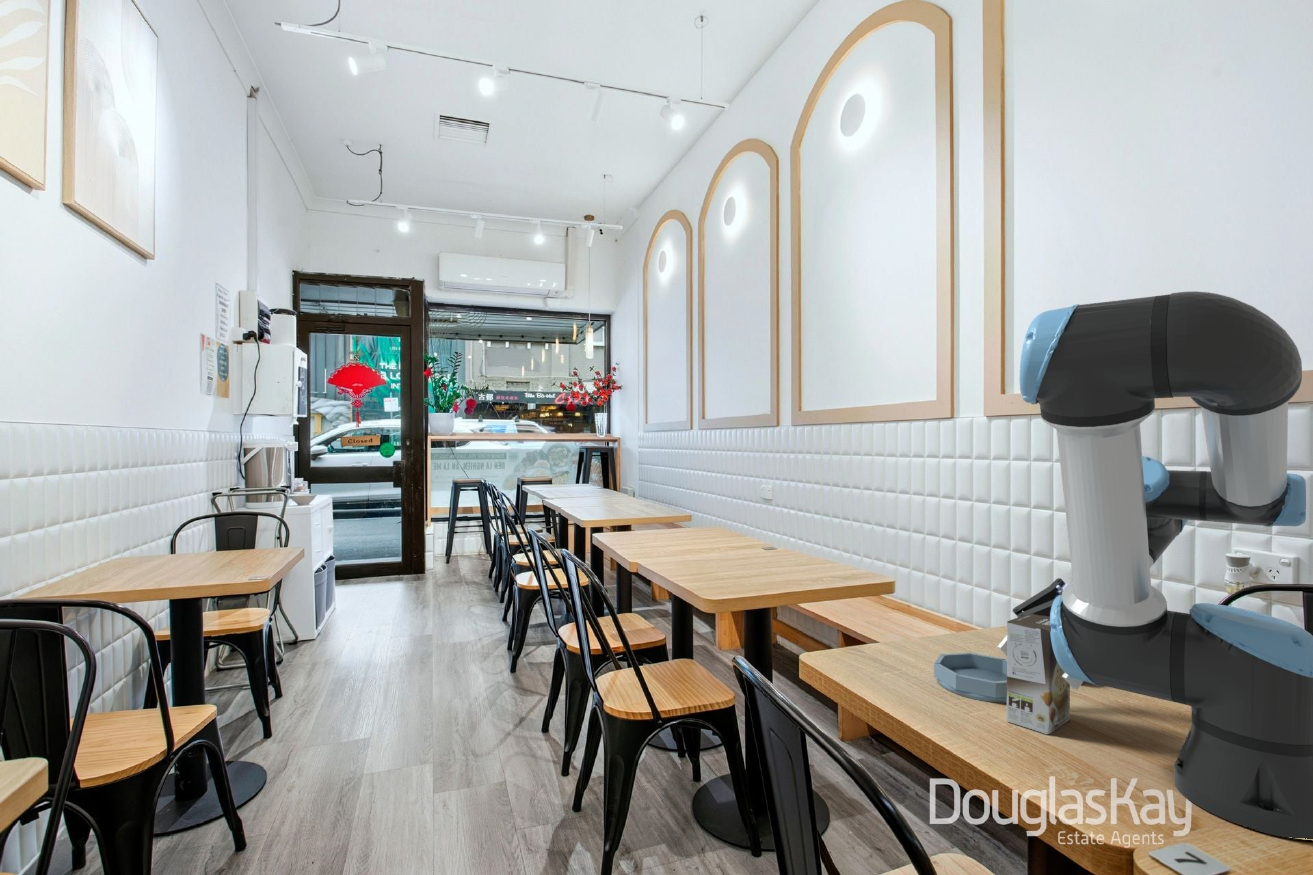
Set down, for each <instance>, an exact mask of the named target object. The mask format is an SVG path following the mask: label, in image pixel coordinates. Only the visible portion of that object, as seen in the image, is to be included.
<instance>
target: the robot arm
mask: <svg viewBox="0 0 1313 875" xmlns="http://www.w3.org/2000/svg"><path fill="white" fill-rule="evenodd" d="M1022 344H1023V345H1022V349H1021V355H1020V363H1019V391H1020V394H1021V396H1022V400H1023V401H1024V402H1025V403H1028V404H1031V405H1037V404H1039V409H1040V416H1041V420H1042V421H1043V422H1044V423H1046V424H1047V425H1049V426H1050V427H1052V428H1053V429H1055V431H1056V437H1057V445H1058V447H1057V448H1058V455H1059V456H1058V457H1059V464H1060V465H1059V466H1060V473H1061V474H1060V475H1061V483H1062V485H1061V486H1062V492H1063V500H1064V502H1063V503H1064V511H1065V520H1066V529H1067V539H1068V548H1069V549H1068V550H1069V556H1070V565H1071V575H1072V581H1071V582H1070V583H1067V582H1065V581H1064V580H1063V579H1062V578H1060V577H1058V578H1056V579H1055V580H1054V581H1053V582H1052V583H1051V584H1050V585H1048V587H1046V588H1044V589H1043V590H1041V591H1039V592H1037V593H1036V594H1034V595H1032V596H1031V597H1030V598H1028V599H1026V600H1025V601H1023V602H1021V603H1020V604H1018V605H1017V606H1015V607H1014V608H1012V612H1013V613H1014V615H1015V616H1016V618H1018V617H1021V616H1024V615H1027V614H1029V613H1030V614H1035V615H1040V616H1048V617H1050V625H1051V632H1050V635H1051V642H1052V647H1053V651H1054V654H1055V657H1056V660H1057V662H1058V664H1059V666H1060V667H1061V669H1062V670H1063V671H1064V672H1065V673H1064V674H1063V676H1062V677H1063V678H1064V679H1065V680H1066V681H1067V682H1068V683H1069V684H1070V687H1071V688H1073V689H1074V690H1076V691H1078V689H1079V688H1080V687H1081V685H1083V684H1084V682H1086V683H1089V684H1092V685H1094V686H1098V687H1101V688H1105V687H1106V688H1107V687H1108V688H1111V689H1116V690H1119V691H1120V690H1121V691H1123V692H1129V693H1132V694H1133V693H1134V694H1137V695H1141V696H1145V697H1151V698H1155V699H1158V700H1164V701H1167V702H1168V701H1169V702H1172V703H1177V704H1181V705H1186V706H1189V707H1190V708H1191V722H1190V724H1191V725H1190V729H1189V731H1188V733H1187V736H1186V737H1185V740H1184V742H1183V744H1182V746H1181V748H1180V750H1179V753H1178V756H1177V758H1176V759H1175V762H1174V766H1173V783H1174V786H1175V788H1176V789H1177V791H1178V792H1179V793H1180V794H1182V795H1183V797H1185V799H1187V800H1189V801H1190V802H1191V803H1193V804H1195V805H1196V806H1197V807H1199V808H1201V809H1203V810H1205V811H1207V812H1209V813H1211V814H1213V815H1215V816H1217V817H1219V818H1221V819H1224V820H1227V821H1229V822H1231V823H1233V824H1236V825H1240V826H1241V825H1242V826H1241V827H1245V828H1247V827H1249V828H1248V829H1250V828H1251V829H1250V830H1253V829H1255V830H1254V831H1257V832H1261V833H1264V834H1267V835H1272V836H1275V837H1280V836H1281V837H1280V838H1285V837H1292V838H1305V839H1306V838H1307V839H1313V635H1312V633H1310V632H1308V631H1307V630H1305V629H1304V628H1302V627H1300V626H1299V625H1297V624H1294V623H1292V622H1289V621H1286V620H1284V619H1281V618H1278V617H1275V616H1271V615H1268V614H1264V613H1260V612H1256V611H1253V610H1248V609H1245V608H1240V607H1235V606H1229V605H1224V604H1214V603H1209V602H1199V603H1195V604H1193V605H1192V606H1191V608H1190V609H1189V612H1188V613H1187V612H1179V611H1174V610H1168V601H1167V600H1166V597H1165V595H1164V594H1163V592H1161V591H1160V590H1159V589H1158V588H1156V587H1155V586H1153V585H1152V579H1151V568H1152V567H1153V566H1154V564H1156V562H1157V561H1158V559H1159V558H1160V557H1161V556H1162V555H1163V553H1164V552H1165V551H1166V549H1168V547H1169V546H1170V544H1171V543H1172V542H1173V541H1174V540H1175V539H1176V537H1177V536H1179V535H1180V534H1181V533H1182V532H1183V530H1184V527H1185V526H1186V525H1187V523H1188V521H1199V522H1214V523H1215V522H1216V523H1227V524H1236V525H1237V524H1238V525H1239V524H1240V525H1251V526H1263V527H1269V528H1272V527H1299V526H1302V525H1303V524H1304V523H1305V522H1306V521H1307V520H1306V518H1307V482H1306V481H1307V480H1306V479H1305V478H1304V476H1302V475H1300V474H1297V473H1288V438H1289V437H1288V436H1289V435H1288V428H1289V426H1288V425H1289V415H1288V414H1289V402H1290V401H1292V399H1293V398H1294V397H1295V395H1296V394H1297V393H1298V391H1299V390H1300V388H1301V384H1302V378H1303V375H1302V374H1303V365H1302V364H1303V363H1302V357H1301V354H1300V352H1299V349H1298V347H1297V345H1296V343H1295V342H1294V341H1293V339H1292V338H1291V336H1290V334H1288V332H1287V331H1286V330H1285V329H1284V328H1283V327H1282V326H1281V325H1280V324H1279V323H1277V322H1276V321H1275V320H1274V319H1272V318H1271V317H1270V316H1269V315H1267V313H1264V312H1262V311H1261V310H1259V309H1258V308H1256V307H1254V306H1253V305H1252V304H1251V305H1250V304H1248V303H1246V302H1243V301H1241V300H1238V299H1236V298H1234V297H1231V296H1227V295H1223V294H1219V293H1215V292H1209V291H1178V292H1171V293H1170V294H1169V293H1168V294H1162V295H1160V294H1159V295H1155V296H1146V297H1139V298H1138V297H1137V298H1130V299H1119V300H1111V301H1103V302H1094V303H1086V304H1085V303H1083V304H1079V303H1077V304H1073V305H1072V306H1067V307H1061V308H1056V309H1051V310H1050V309H1049V310H1045V311H1043V312H1041V313H1040V314H1037V315H1036V316H1035V318H1033V320H1032V321H1031V322H1030V324H1029V326H1028V328H1027V331H1026V333H1025V338H1024V340H1023V343H1022ZM1185 397H1186V398H1190V399H1191V400H1192V401H1193V402H1194V403H1195V404H1196V405H1197V406H1198V407H1200V409H1201V415H1202V423H1203V429H1204V434H1205V441H1206V449H1207V453H1208V454H1207V455H1208V461H1209V462H1208V463H1209V469H1210V471H1209V470H1208V471H1206V470H1177V469H1176V470H1175V469H1174V470H1169V469H1167V468H1166V466H1165V465H1164V464H1163V463H1162V462H1161V461H1159V460H1157V459H1154V458H1151V457H1149V456H1145V455H1143V449H1142V435H1141V424H1142V423H1143V422H1144V421H1145V420H1147V419H1148V418H1149V417H1151V416H1152V415H1153V414H1154V412H1155V410H1156V405H1155V404H1156V402H1155V400H1156V399H1170V398H1172V399H1173V398H1185ZM997 648H998V649H999V650H1000V651H1001V652H1002V653H1003V654H1004V655H1005V656H1006V657H1007V635H1005V637H1003V639H1002V641H1001V642H1000V643H999V644H998V645H997Z"/></svg>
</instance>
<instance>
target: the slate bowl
mask: <svg viewBox="0 0 1313 875" xmlns="http://www.w3.org/2000/svg"><path fill="white" fill-rule="evenodd" d="M933 664H934V665H933V667H934V668H933V670H934V671H933V674H934V675H933V677H934V678H935V679H936V682H937V683H938V684H939V686H941V688H944V689H945V690H947V691H949V692H951V693H953V694H956V695H957V696H958V695H959V696H961V697H965V698H968V699H971V700H972V699H973V700H977V701H982V702H986V703H987V702H989V703H996V704H997V703H998V704H999V703H1001V704H1003V703H1004V704H1007V658H1002V657H997V656H992V655H991V656H990V655H985V654H981V653H974V652H955V653H940V654H939V656H938V657H937V658H936V660H935V661H934V663H933Z"/></svg>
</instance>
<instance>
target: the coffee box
mask: <svg viewBox="0 0 1313 875" xmlns="http://www.w3.org/2000/svg"><path fill="white" fill-rule="evenodd" d="M1006 624H1007V625H1006V626H1007V627H1006V628H1007V630H1006V631H1007V634H1006V636H1007V656H1006V660H1007V703H1006V722H1008V723H1011V724H1014V725H1017V726H1020V727H1023V728H1026V729H1029V730H1033V731H1035V732H1039V733H1041V734H1043V735H1044V734H1045V735H1050V734H1052V733H1053V732H1054V731H1057V729H1059V728H1060V727H1061V726H1063V725H1064V724H1067V722H1068V721H1070V719H1071V718H1070V714H1071V712H1070V711H1071V710H1070V709H1071V685H1070V684H1069V683H1068V682H1067V681H1066V680H1065V679H1064V678H1063V677H1062V676H1063V674H1064V673H1065V672H1064V671H1063V670H1062V669H1061V667H1060V666H1059V664H1058V662H1057V660H1056V657H1055V654H1054V651H1053V647H1052V642H1051V635H1050V632H1051V625H1050V617H1048V616H1040V615H1035V614H1030V613H1029V614H1027V615H1024V616H1021V617H1015V618H1013V619H1010V620H1007V621H1006Z"/></svg>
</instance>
